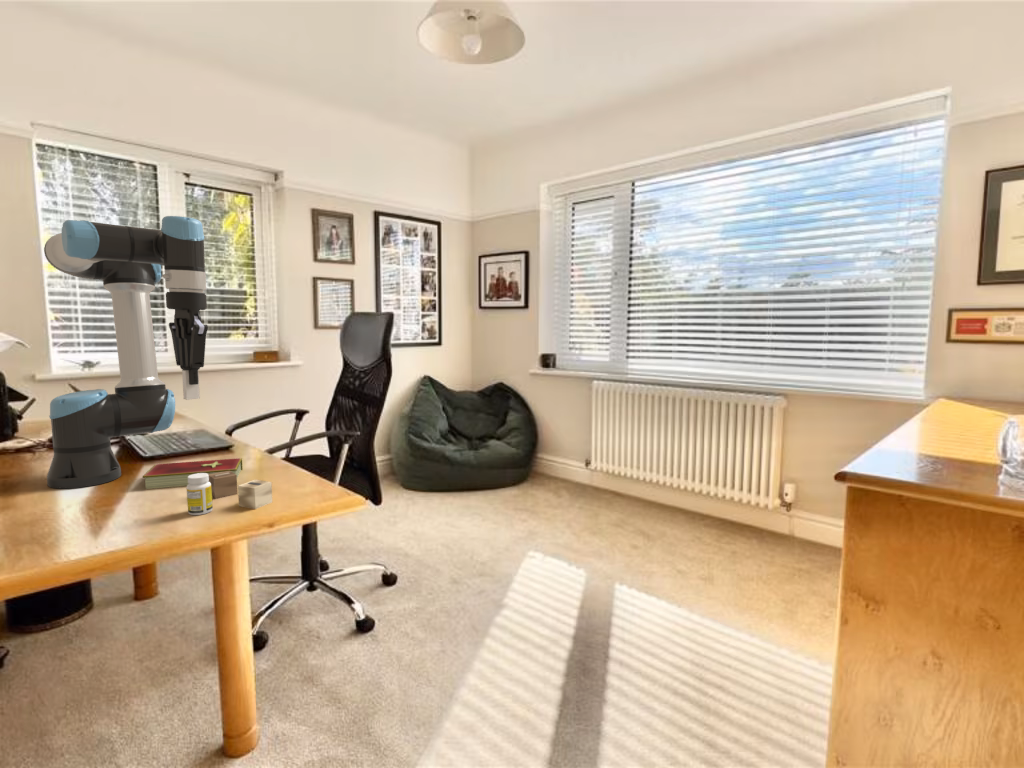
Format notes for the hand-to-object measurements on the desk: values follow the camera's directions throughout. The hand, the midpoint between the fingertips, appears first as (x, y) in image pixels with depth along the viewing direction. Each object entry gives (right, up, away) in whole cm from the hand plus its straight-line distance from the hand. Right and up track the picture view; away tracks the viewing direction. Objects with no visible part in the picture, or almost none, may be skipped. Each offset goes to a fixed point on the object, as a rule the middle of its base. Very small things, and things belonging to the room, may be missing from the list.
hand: (191, 398), depth 117 cm
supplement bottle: (+1, -26, +1) cm, 26 cm away
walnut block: (0, -24, +13) cm, 27 cm away
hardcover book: (-14, -23, +24) cm, 36 cm away
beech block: (+11, -25, +6) cm, 28 cm away
